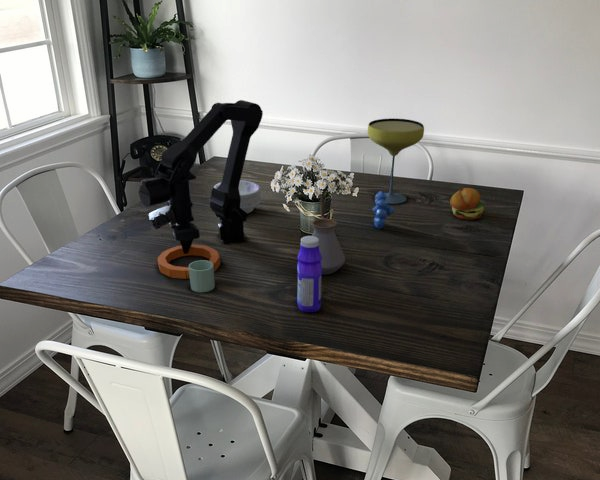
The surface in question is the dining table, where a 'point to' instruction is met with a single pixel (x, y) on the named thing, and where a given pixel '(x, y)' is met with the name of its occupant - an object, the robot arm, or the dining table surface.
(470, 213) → the cheeseburger
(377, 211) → the grapes
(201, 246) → the ring
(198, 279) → the cup
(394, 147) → the cocktail glass
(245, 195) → the paper bowls
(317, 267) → the bottle
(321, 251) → the coffee pot
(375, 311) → the dining table surface
